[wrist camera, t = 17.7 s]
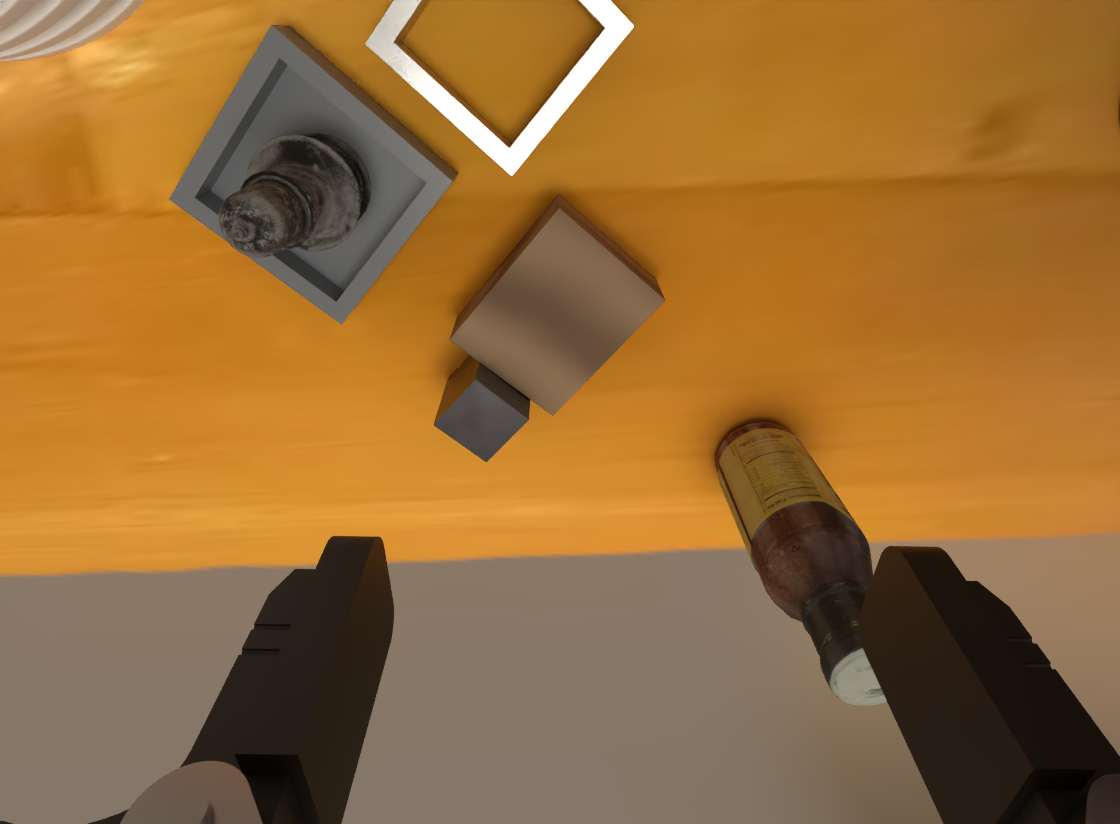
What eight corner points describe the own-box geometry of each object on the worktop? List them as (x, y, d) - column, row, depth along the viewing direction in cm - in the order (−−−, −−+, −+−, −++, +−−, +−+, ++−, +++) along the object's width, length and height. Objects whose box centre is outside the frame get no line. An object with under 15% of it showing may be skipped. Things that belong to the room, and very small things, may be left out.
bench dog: (484, 338, 43) (475, 379, 38) (531, 375, 44) (528, 419, 39) (447, 379, 44) (433, 425, 39) (493, 414, 46) (486, 462, 41)
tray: (289, 26, 34) (271, 25, 32) (458, 173, 38) (452, 181, 36) (190, 190, 38) (168, 199, 36) (352, 309, 42) (341, 324, 40)
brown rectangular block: (558, 193, 39) (559, 208, 35) (655, 278, 42) (665, 300, 38) (457, 315, 43) (449, 340, 39) (552, 387, 45) (552, 415, 42)
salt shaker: (311, 251, 40) (224, 325, 29) (249, 157, 37) (128, 200, 26) (396, 208, 38) (336, 269, 28) (337, 107, 36) (248, 132, 25)
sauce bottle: (785, 492, 49) (912, 736, 32) (703, 485, 49) (786, 728, 32) (811, 415, 46) (968, 640, 29) (723, 407, 46) (828, 630, 28)
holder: (487, -127, 31) (483, -137, 30) (630, 27, 35) (634, 26, 33) (374, 43, 35) (365, 44, 33) (513, 170, 38) (511, 176, 36)
